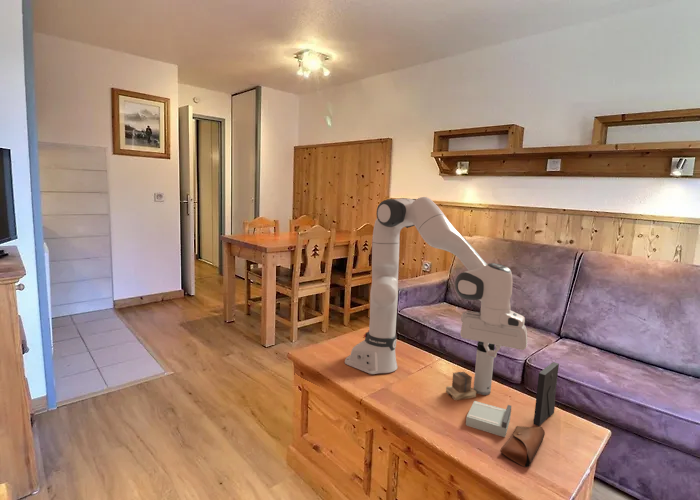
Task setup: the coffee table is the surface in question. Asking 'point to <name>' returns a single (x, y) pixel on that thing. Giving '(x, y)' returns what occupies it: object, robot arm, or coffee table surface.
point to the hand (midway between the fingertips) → (491, 356)
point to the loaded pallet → (461, 387)
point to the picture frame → (546, 393)
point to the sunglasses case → (523, 444)
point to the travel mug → (483, 370)
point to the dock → (489, 418)
